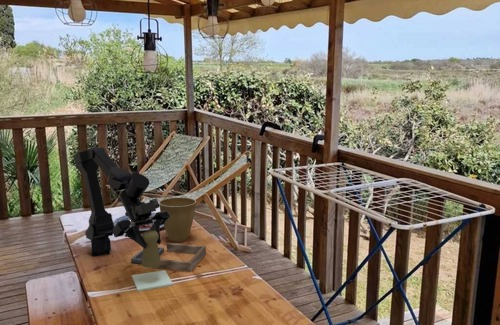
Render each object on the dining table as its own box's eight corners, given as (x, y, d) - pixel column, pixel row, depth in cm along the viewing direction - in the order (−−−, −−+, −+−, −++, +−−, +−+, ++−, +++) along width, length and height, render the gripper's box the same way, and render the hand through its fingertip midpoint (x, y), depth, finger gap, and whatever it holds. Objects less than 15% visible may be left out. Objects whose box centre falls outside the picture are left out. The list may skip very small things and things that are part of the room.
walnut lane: (149, 267, 156) (149, 259, 155) (168, 250, 171) (168, 242, 171) (190, 271, 152) (190, 263, 152) (206, 253, 168) (205, 246, 168)
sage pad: (137, 291, 138) (137, 289, 138) (132, 277, 148) (131, 275, 148) (172, 285, 142) (172, 283, 142) (164, 271, 152) (164, 270, 152)
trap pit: (131, 263, 159) (130, 259, 159) (147, 250, 171) (147, 246, 171) (149, 265, 157) (149, 260, 157) (164, 251, 170) (164, 247, 170)
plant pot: (201, 242, 180) (201, 203, 178) (165, 247, 174) (164, 208, 171) (189, 230, 194) (189, 195, 191) (156, 235, 187) (154, 199, 184)
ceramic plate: (160, 213, 219) (160, 207, 218) (181, 228, 197) (180, 222, 197) (106, 222, 205) (106, 215, 205) (123, 238, 184) (122, 231, 183)
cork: (148, 269, 140) (147, 236, 138) (137, 263, 144) (136, 231, 142) (164, 263, 144) (163, 231, 142) (153, 258, 148) (152, 227, 146)
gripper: (115, 197, 136) (136, 240, 130) (166, 187, 149) (187, 226, 144) (104, 215, 143) (123, 258, 137) (153, 204, 156) (172, 243, 151)
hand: (152, 245), depth 142 cm, fingers closed on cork, 5 cm apart
